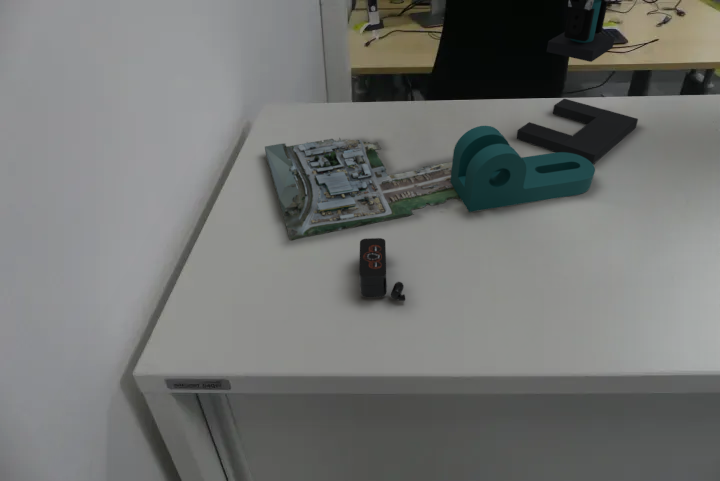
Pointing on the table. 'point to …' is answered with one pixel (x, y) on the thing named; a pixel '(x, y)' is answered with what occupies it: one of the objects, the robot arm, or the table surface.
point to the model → (348, 186)
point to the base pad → (581, 131)
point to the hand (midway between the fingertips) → (582, 33)
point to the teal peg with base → (583, 42)
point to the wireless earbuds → (375, 270)
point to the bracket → (512, 172)
